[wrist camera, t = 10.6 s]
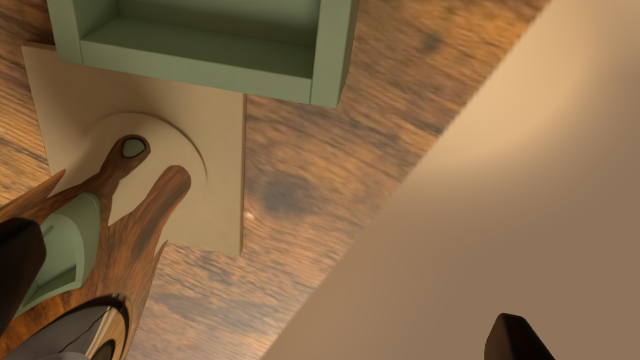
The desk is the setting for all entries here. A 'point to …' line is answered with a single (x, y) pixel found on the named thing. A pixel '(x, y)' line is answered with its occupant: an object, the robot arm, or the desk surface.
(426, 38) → the desk surface
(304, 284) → the desk surface
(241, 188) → the coaster
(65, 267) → the beer glass
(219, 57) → the holder
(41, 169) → the desk surface
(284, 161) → the desk surface
